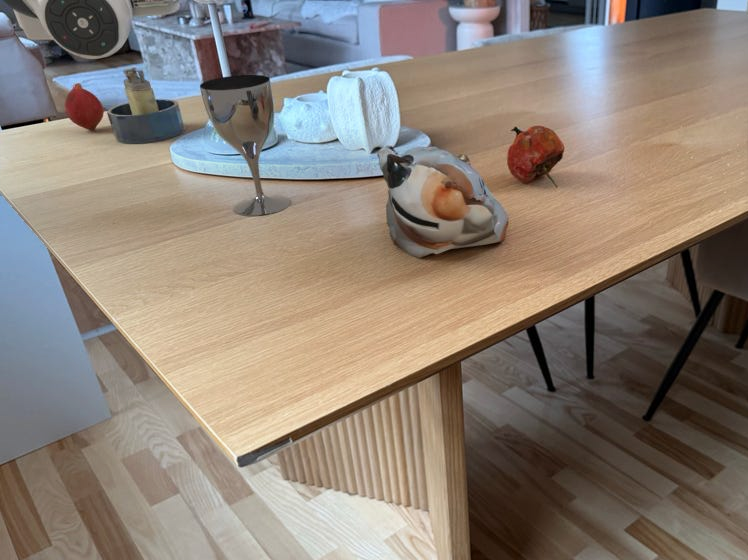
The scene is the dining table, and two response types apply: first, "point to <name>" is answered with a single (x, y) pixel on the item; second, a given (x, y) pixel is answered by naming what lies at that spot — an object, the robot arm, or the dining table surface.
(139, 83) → the lighter
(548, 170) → the pomegranate
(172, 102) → the bowl
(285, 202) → the wine glass
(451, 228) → the lucky cat figurine
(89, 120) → the onion
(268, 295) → the dining table surface
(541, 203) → the dining table surface
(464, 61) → the dining table surface
